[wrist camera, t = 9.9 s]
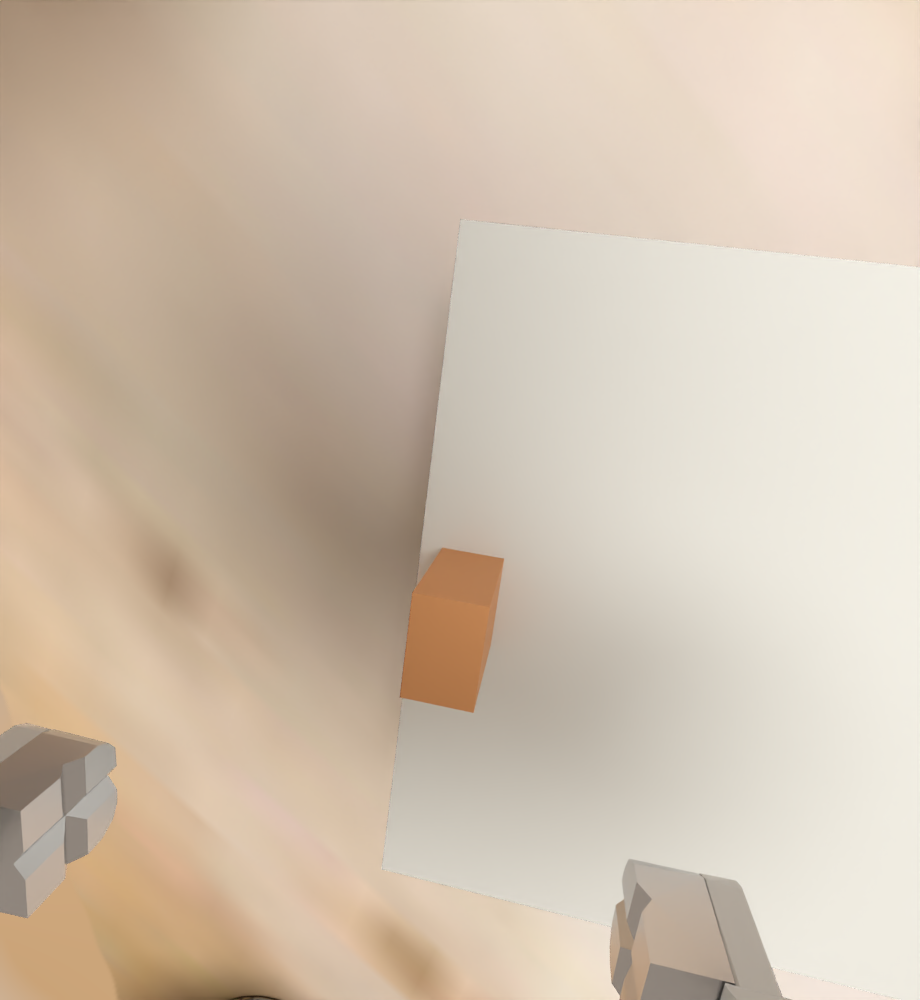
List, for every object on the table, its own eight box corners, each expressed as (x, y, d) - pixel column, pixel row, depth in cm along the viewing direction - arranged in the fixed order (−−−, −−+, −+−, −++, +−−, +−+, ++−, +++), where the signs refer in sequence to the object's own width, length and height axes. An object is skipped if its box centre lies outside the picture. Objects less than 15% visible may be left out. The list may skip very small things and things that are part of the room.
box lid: (388, 848, 23) (343, 974, 18) (465, 227, 18) (431, 174, 13) (963, 990, 20) (1088, 1181, 16) (1248, 310, 15) (1567, 282, 10)
